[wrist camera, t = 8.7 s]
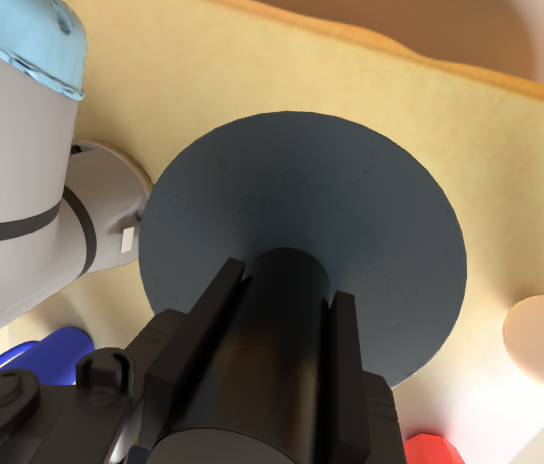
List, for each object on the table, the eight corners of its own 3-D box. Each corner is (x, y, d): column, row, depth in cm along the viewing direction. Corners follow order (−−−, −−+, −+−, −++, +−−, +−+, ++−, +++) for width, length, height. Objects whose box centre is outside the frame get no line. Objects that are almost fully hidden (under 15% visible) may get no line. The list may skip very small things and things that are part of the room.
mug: (26, 311, 47) (-47, 358, 38) (98, 325, 46) (39, 378, 37) (37, 353, 50) (-29, 407, 41) (105, 368, 49) (52, 427, 40)
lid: (140, 341, 20) (-34, 546, 10) (165, 72, 14) (-194, -16, 4) (384, 423, 19) (435, 741, 9) (527, 165, 13) (1106, 321, 3)
